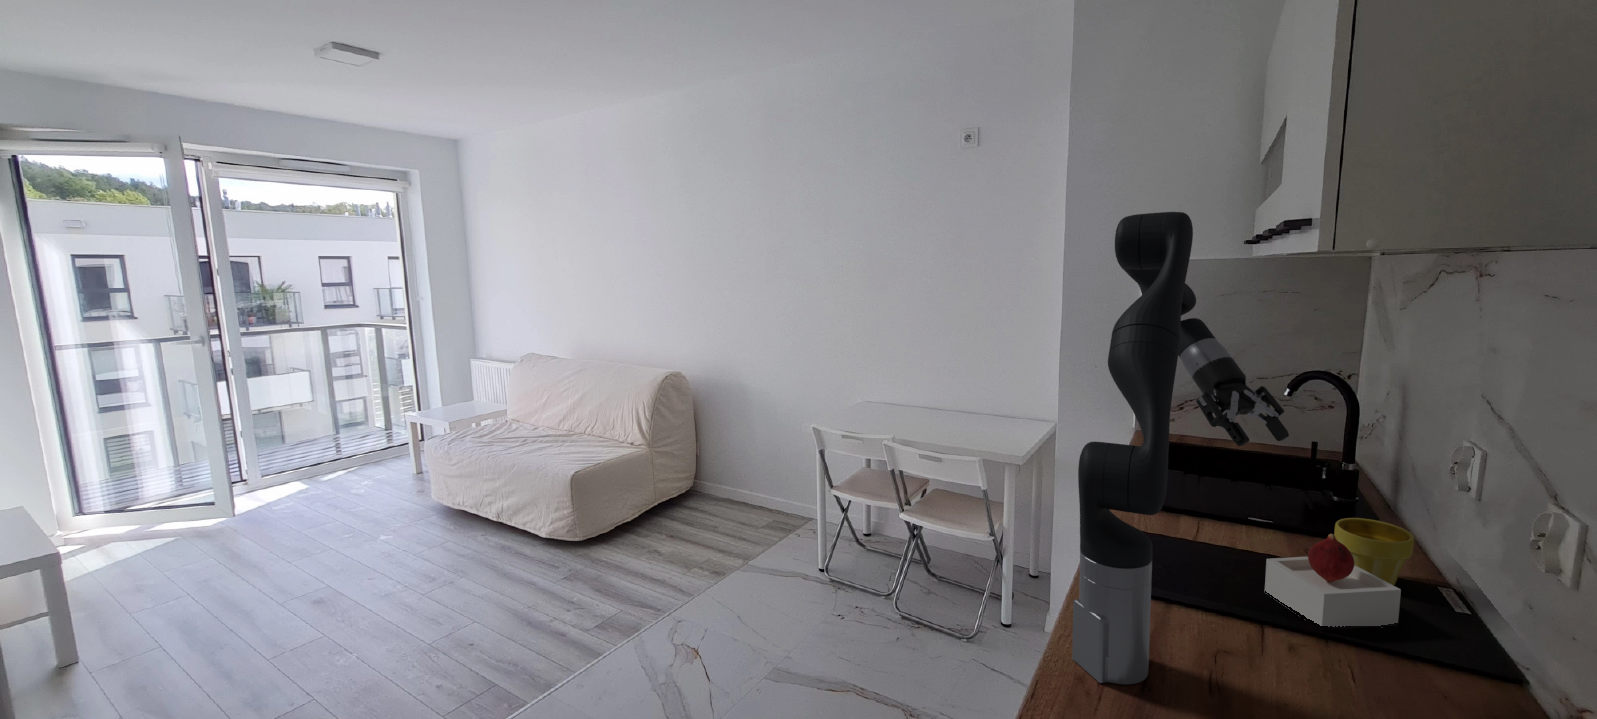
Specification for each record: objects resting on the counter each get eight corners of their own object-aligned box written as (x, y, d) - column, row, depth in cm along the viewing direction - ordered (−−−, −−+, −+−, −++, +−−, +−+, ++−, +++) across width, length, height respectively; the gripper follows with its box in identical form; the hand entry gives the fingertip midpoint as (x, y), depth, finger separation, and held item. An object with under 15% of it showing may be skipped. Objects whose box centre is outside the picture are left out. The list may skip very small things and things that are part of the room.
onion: (1361, 590, 102) (1365, 542, 101) (1321, 589, 103) (1324, 541, 102) (1336, 574, 108) (1339, 528, 107) (1298, 573, 109) (1301, 527, 108)
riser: (1321, 632, 100) (1324, 593, 99) (1264, 593, 112) (1266, 558, 111) (1397, 628, 100) (1401, 589, 99) (1332, 589, 112) (1335, 554, 111)
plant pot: (1419, 601, 107) (1425, 545, 105) (1340, 589, 111) (1344, 536, 110) (1396, 573, 116) (1401, 521, 114) (1324, 564, 121) (1327, 514, 119)
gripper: (1192, 358, 118) (1246, 434, 109) (1255, 352, 121) (1312, 425, 112) (1168, 382, 124) (1217, 456, 114) (1229, 376, 127) (1281, 447, 118)
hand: (1264, 441), depth 113 cm, fingers open, 8 cm apart
